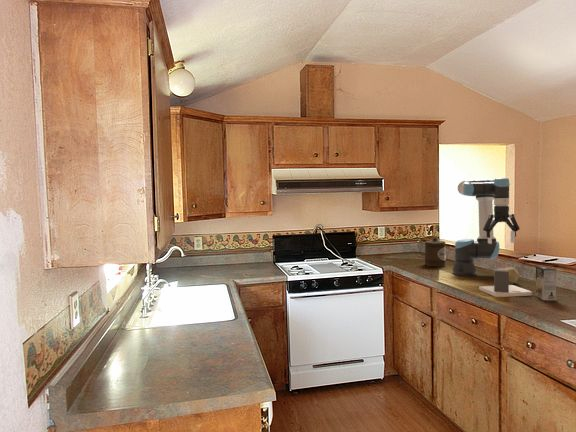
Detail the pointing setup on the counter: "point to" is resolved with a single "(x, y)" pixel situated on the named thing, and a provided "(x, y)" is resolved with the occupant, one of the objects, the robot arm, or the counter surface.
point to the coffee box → (546, 282)
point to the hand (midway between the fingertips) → (501, 243)
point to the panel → (512, 292)
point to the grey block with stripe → (501, 280)
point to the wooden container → (435, 253)
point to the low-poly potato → (512, 275)
